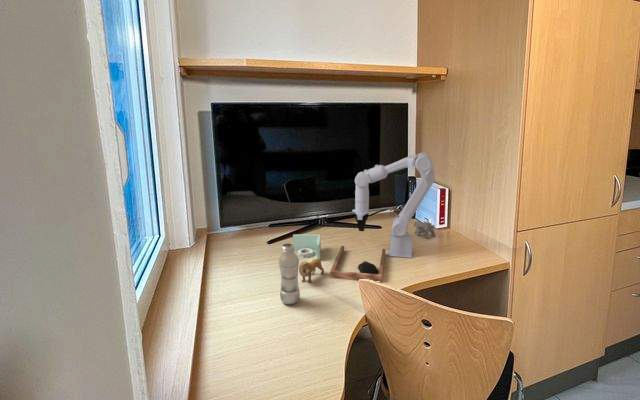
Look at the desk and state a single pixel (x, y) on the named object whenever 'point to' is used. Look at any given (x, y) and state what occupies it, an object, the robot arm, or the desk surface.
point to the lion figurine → (309, 269)
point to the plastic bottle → (289, 275)
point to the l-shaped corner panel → (307, 245)
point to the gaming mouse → (367, 268)
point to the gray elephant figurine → (424, 228)
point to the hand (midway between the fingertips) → (361, 230)
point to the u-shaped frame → (353, 274)
